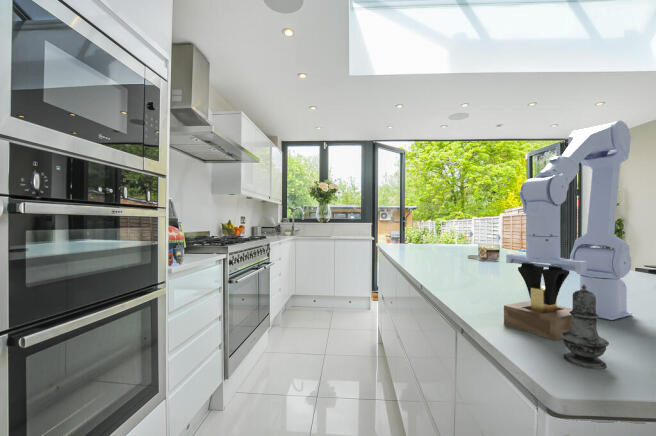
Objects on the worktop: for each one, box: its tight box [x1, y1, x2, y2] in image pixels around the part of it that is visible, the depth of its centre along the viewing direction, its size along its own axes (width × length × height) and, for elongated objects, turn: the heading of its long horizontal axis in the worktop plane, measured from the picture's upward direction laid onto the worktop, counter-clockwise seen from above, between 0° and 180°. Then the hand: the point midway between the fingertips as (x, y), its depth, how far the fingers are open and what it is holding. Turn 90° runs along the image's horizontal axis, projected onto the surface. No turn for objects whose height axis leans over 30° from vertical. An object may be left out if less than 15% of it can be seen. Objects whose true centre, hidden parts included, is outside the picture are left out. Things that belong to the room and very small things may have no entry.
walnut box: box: [503, 300, 573, 341], centre depth 65 cm, size 10×10×4 cm
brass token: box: [530, 285, 558, 313], centre depth 65 cm, size 4×2×6 cm, turn 116°
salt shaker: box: [561, 285, 610, 370], centre depth 50 cm, size 6×6×12 cm
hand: (542, 302), depth 65 cm, fingers closed on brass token, 2 cm apart
